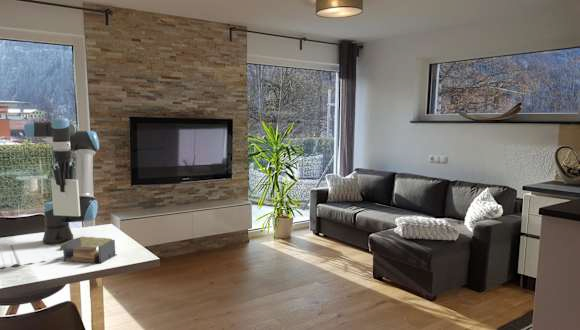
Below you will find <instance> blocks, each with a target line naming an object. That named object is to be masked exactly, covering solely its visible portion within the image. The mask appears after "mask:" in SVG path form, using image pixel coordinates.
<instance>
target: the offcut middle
mask: <svg viewBox="0 0 580 330" xmlns="http://www.w3.org/2000/svg"><path fill="white" fill-rule="evenodd" d="M98 256H99V251H95V252H93V253H91V254H85V253H73V257H82V258H96V257H98Z"/></svg>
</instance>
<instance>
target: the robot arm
mask: <svg viewBox="0 0 580 330" xmlns="http://www.w3.org/2000/svg"><path fill="white" fill-rule="evenodd" d="M23 132H24V135H25V137H27V138H36V139H37V138H38V139H40V140H43V141H44V142H47V143H48V144H49V145H50V146H51V147H52V150H54V151H53V159H55V164H54V165H51V169H52V171H53V175H54V179H55V180H56V184H57V185H60V191H61V198H65V199H67V186H66V185H65V179H67V180H74V167H75V166H76V169H75V180H78V186H79V200H80V215H81V216H59V215H54V214H53V201H52V200H51V201H48V202H46V203H45V204H44V205H43V206H44V207H43V213H44V225H45V230H44V234H43V237H42V243H43V245H48V246H53V245H55V246H56V245H62V244H63V243H65V242H68V241H70V240H73V239H74V234H73V233H72V230H71V227H70V223H79V222H82V223H83V222H92V221H94V220H95V219H96V217H97V214H98V211H99V210H98V209H99V204H98V203H99V202H98V201H97V200H96V199H95V198H96V197H95V196H94V195H93V171H94V167H93V166H94V156H95V155H96V153H97V151H99V150H100V142H99V137H98V135H97V134H98V133H97V132H96V131H94V130H77V126H76V125H75V124H74V122H72V121H70V120H69V119H68V118H67V117H66V118H65V117H62V118H61V117H58V118H57V117H56V118H52V119H51V121H43V122H41V121H36V122H35V121H29V122H26V123H24V127H23ZM72 152H74V154H75V155H76V165H75V162H72V161H71V158H72Z"/></svg>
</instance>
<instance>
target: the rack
mask: <svg viewBox="0 0 580 330" xmlns="http://www.w3.org/2000/svg"><path fill="white" fill-rule="evenodd" d="M76 238H77V239H75V238H74V239H75V240H72V241H70V242H67V243H65V244H63V250H62V252H63V253H62V254H63V260H62V262H65V263H76V264H77V263H78V264H79V263H80V264H94V265H101V264H103V263H105V262H107V261H108V260H111V259H112V258H114V257H116V256H118V255H119V254H117V253H116V240H115V239H112V240H111V241H109V242H107V243H105V244H102V245H100V246H98V249H96V251H99V260H98V261H96V262H94V263H92V262H78V261H72V260H71V257H72V256H73V249H74V248H76V247H78V246H81V239H80V238H79V237H76Z"/></svg>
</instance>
